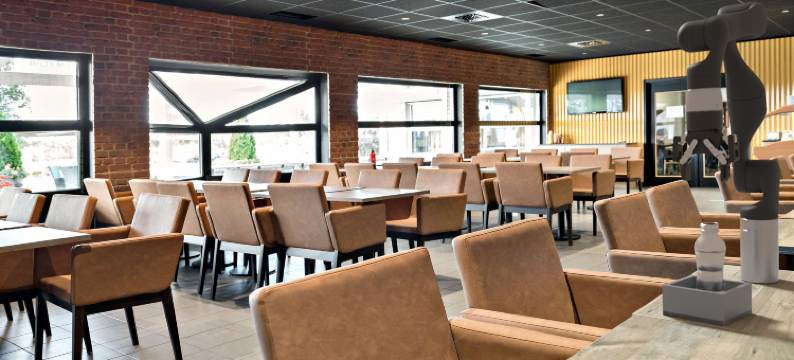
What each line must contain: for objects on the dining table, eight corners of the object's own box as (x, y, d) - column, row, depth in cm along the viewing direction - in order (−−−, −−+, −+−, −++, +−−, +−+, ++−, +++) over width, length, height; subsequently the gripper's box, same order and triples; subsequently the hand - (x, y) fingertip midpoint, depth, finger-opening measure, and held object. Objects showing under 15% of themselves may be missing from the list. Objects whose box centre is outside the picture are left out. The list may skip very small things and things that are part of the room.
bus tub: (692, 303, 165) (691, 274, 164) (752, 313, 154) (751, 283, 153) (662, 314, 156) (662, 285, 155) (724, 326, 145) (723, 294, 144)
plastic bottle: (695, 305, 159) (694, 221, 158) (727, 307, 156) (726, 222, 154) (692, 311, 153) (691, 224, 152) (725, 314, 150) (724, 225, 149)
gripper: (744, 107, 148) (744, 180, 149) (681, 110, 159) (683, 179, 160) (728, 107, 144) (729, 183, 145) (665, 111, 155) (667, 181, 156)
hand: (705, 180), depth 153 cm, fingers open, 8 cm apart
